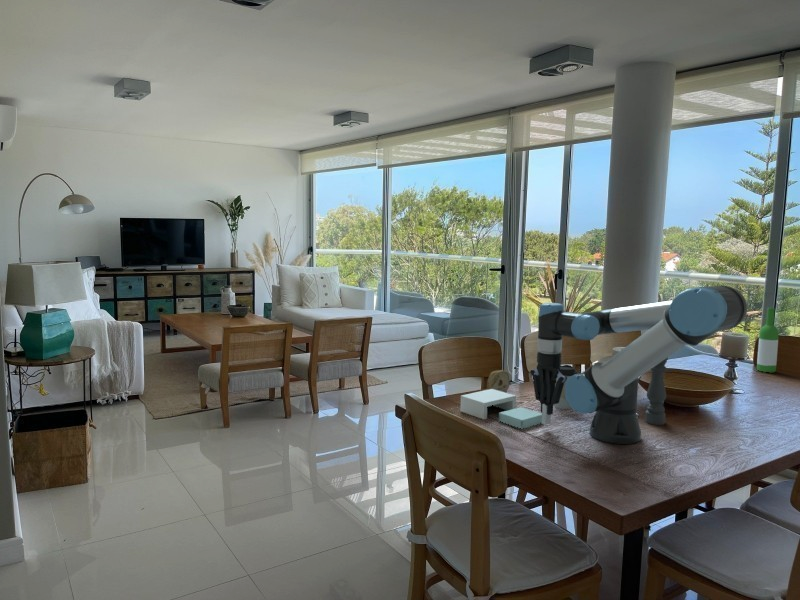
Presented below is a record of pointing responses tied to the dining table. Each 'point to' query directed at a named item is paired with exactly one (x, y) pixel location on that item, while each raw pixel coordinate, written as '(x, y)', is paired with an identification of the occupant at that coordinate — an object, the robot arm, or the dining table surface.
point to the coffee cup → (565, 371)
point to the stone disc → (498, 381)
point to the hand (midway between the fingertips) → (546, 423)
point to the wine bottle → (768, 344)
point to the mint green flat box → (520, 417)
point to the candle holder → (656, 395)
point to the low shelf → (486, 402)
